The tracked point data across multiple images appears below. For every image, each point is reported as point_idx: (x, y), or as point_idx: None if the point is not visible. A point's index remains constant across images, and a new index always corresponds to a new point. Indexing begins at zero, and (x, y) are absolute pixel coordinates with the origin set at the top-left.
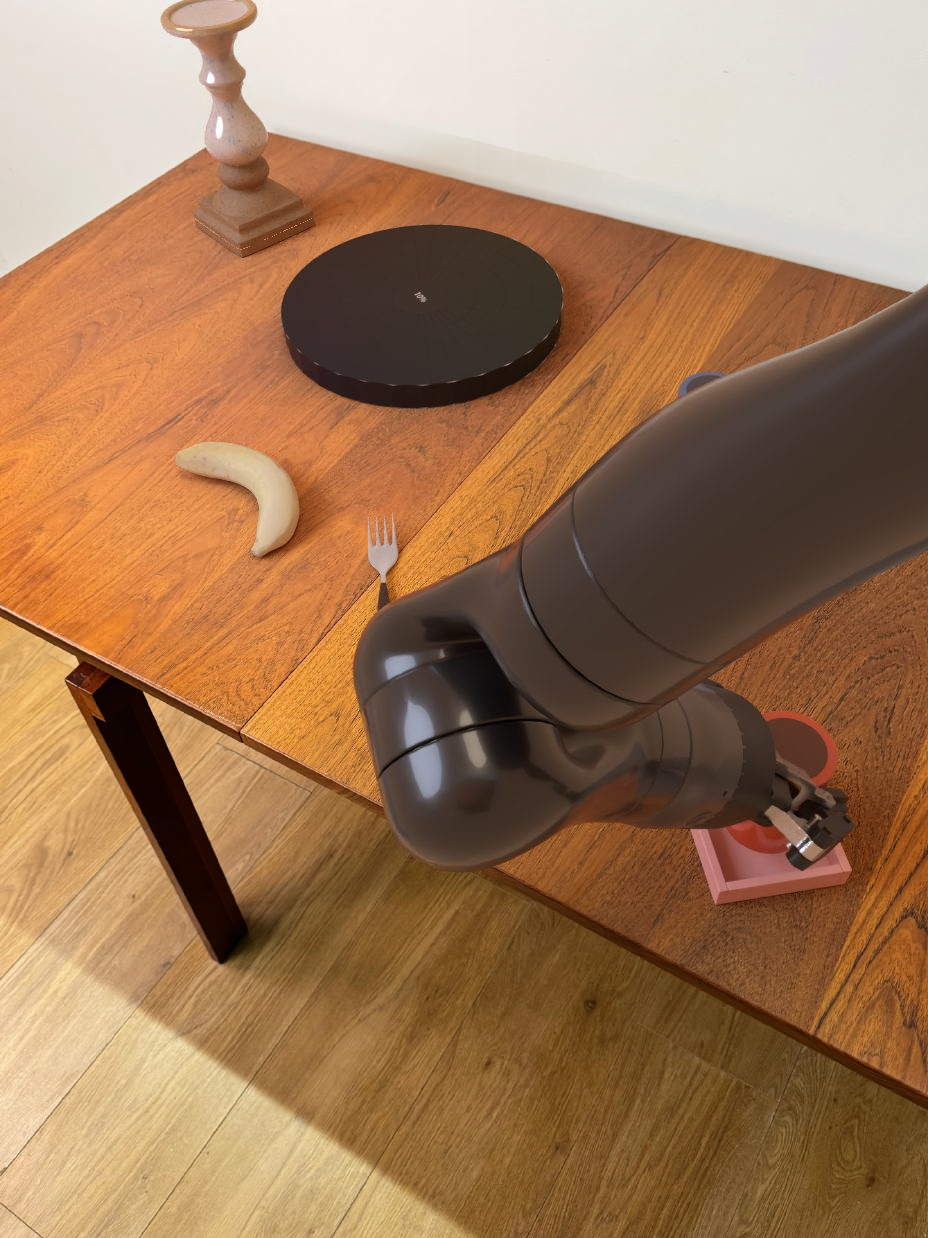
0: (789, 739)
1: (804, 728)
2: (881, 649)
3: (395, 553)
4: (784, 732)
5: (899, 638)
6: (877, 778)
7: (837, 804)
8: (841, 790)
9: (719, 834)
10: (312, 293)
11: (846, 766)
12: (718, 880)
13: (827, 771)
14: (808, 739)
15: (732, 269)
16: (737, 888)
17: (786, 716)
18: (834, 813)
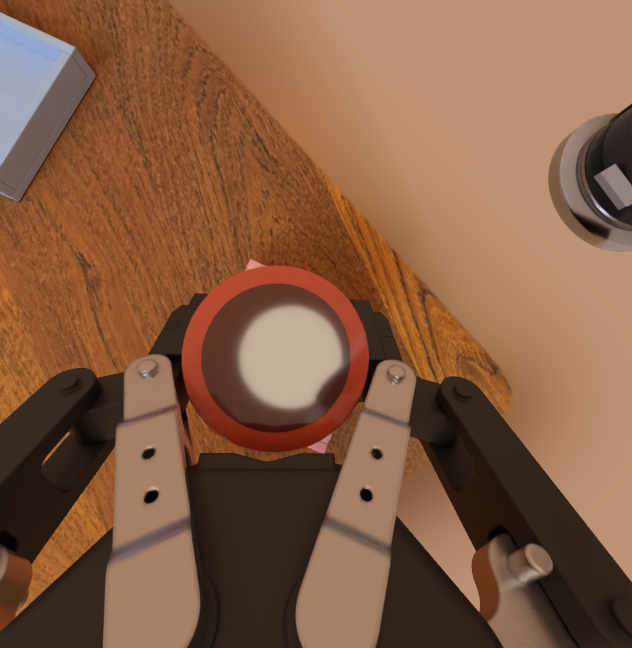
0: (261, 341)
1: (259, 297)
2: (196, 87)
3: None
4: (243, 336)
5: (198, 62)
6: (307, 210)
7: (380, 334)
8: (356, 302)
9: None
10: None
11: (280, 224)
12: (313, 446)
13: (354, 331)
14: (282, 309)
15: None
16: (331, 434)
17: (217, 305)
18: (461, 422)
